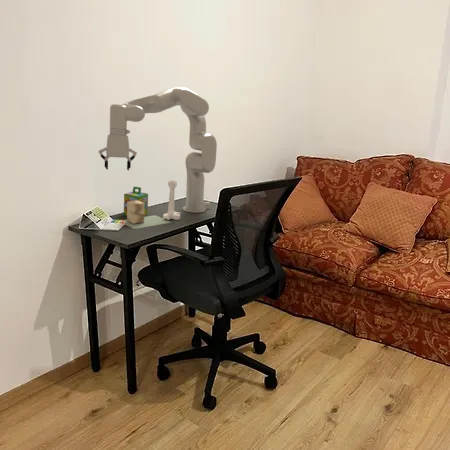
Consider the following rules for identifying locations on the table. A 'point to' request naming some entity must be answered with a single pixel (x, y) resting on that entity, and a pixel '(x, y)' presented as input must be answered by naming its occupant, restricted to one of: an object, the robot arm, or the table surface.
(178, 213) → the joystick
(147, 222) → the mat
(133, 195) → the chalk box
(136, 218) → the maple block
